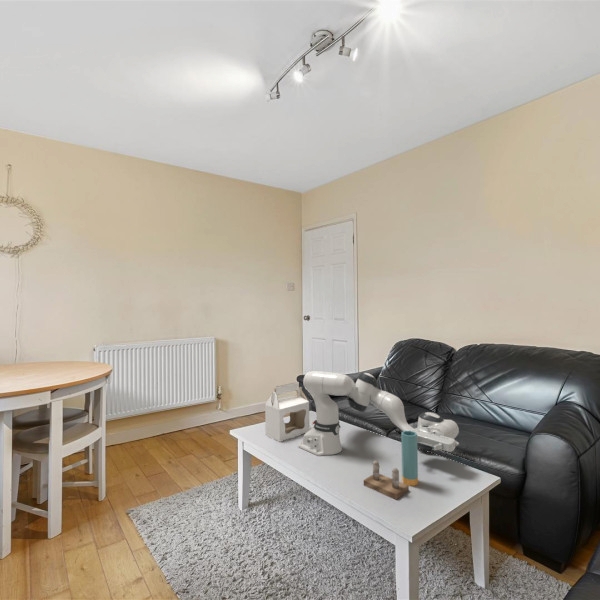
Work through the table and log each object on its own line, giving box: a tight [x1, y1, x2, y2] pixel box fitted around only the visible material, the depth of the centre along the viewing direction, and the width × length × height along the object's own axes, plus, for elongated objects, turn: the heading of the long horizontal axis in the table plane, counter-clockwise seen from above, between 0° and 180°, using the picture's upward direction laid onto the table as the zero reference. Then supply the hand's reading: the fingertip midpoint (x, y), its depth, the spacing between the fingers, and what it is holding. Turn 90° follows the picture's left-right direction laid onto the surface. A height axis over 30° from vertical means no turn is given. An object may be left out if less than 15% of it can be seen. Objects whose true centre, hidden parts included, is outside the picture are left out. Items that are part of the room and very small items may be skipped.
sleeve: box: [400, 431, 419, 487], centre depth 145 cm, size 6×6×20 cm
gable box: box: [264, 381, 310, 443], centre depth 201 cm, size 22×13×28 cm, turn 131°
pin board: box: [363, 460, 409, 501], centre depth 141 cm, size 15×9×9 cm, turn 43°
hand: (423, 445), depth 153 cm, fingers open, 8 cm apart
